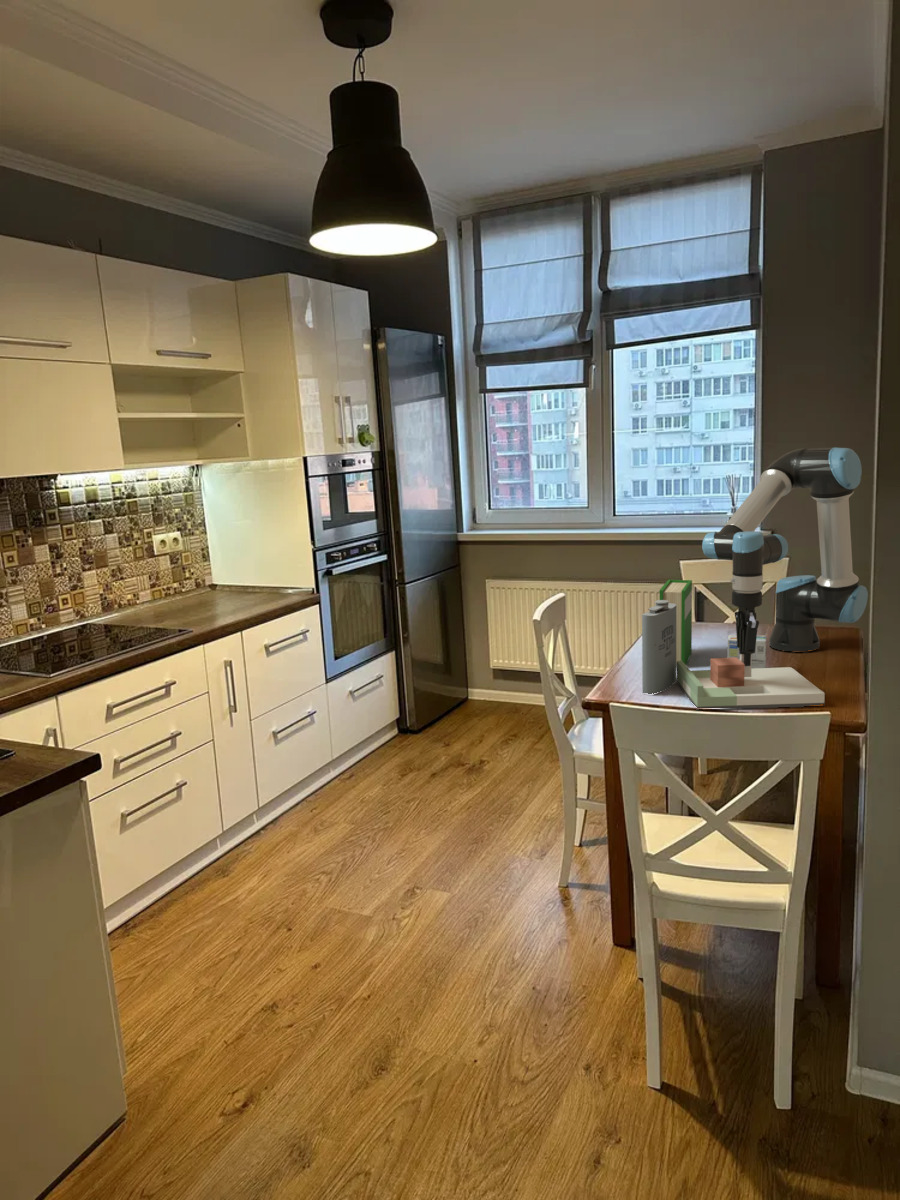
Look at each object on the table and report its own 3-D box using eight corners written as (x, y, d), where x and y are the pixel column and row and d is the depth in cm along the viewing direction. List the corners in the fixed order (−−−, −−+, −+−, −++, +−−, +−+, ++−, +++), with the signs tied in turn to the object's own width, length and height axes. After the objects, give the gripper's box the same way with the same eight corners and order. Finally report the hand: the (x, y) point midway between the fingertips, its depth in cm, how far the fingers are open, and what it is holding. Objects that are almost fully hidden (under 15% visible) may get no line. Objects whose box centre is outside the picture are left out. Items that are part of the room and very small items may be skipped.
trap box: (790, 679, 233) (791, 657, 231) (824, 706, 209) (825, 682, 208) (676, 682, 235) (676, 661, 233) (697, 710, 211) (697, 686, 210)
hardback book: (684, 668, 248) (684, 590, 244) (659, 666, 251) (659, 590, 247) (691, 653, 264) (692, 580, 260) (668, 652, 267) (668, 579, 262)
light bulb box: (765, 670, 242) (766, 634, 240) (766, 676, 236) (766, 640, 234) (727, 668, 246) (727, 633, 244) (727, 674, 240) (727, 639, 238)
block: (736, 678, 224) (736, 657, 223) (744, 686, 217) (744, 664, 216) (710, 679, 224) (710, 658, 223) (717, 687, 218) (717, 665, 216)
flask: (656, 696, 224) (656, 607, 219) (640, 693, 227) (640, 605, 222) (680, 679, 237) (681, 595, 232) (665, 677, 240) (665, 594, 235)
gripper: (725, 586, 223) (724, 670, 227) (740, 595, 210) (738, 683, 215) (753, 585, 222) (751, 669, 227) (769, 594, 210) (767, 682, 214)
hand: (745, 676), depth 221 cm, fingers closed
